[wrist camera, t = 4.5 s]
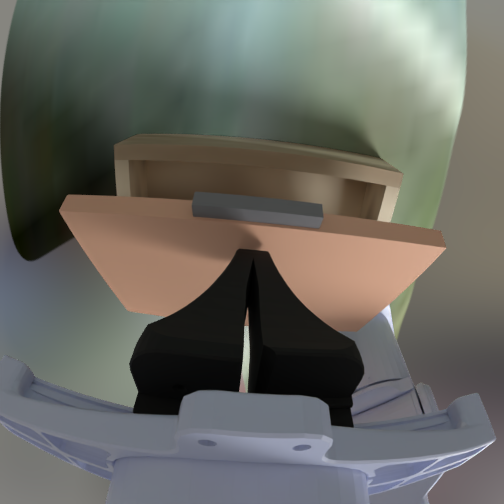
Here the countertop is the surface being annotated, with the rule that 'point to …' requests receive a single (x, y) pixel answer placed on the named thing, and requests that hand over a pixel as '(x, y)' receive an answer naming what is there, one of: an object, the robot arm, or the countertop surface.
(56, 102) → the countertop surface
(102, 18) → the countertop surface
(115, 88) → the countertop surface
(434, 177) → the countertop surface
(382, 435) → the robot arm
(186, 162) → the storage box
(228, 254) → the lid
